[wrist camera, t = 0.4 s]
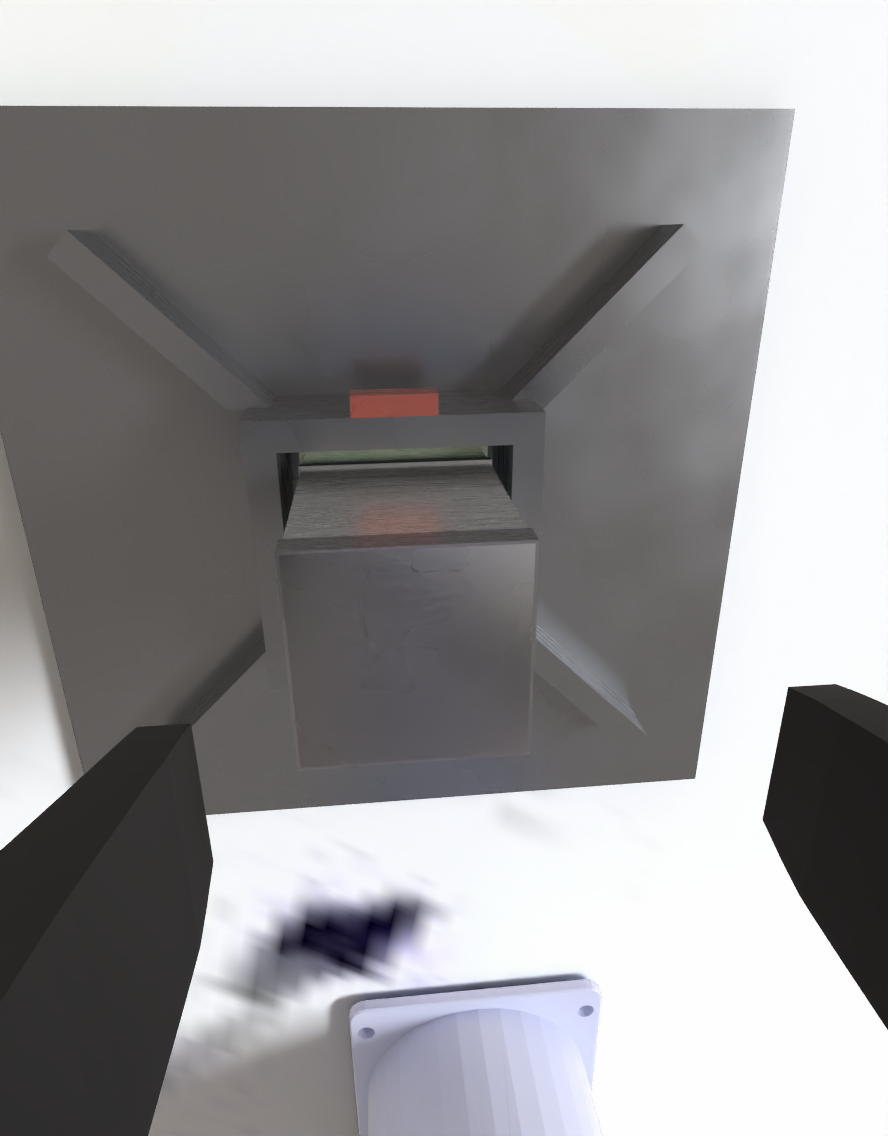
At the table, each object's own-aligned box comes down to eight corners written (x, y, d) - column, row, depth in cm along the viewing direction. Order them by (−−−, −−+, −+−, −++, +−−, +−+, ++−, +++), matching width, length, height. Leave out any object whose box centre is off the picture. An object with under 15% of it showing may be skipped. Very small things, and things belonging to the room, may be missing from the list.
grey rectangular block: (477, 589, 18) (533, 756, 12) (316, 597, 18) (294, 773, 12) (479, 431, 17) (543, 536, 11) (303, 437, 16) (270, 549, 10)
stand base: (686, 764, 22) (733, 841, 19) (102, 807, 20) (62, 896, 18) (779, 113, 15) (870, 86, 13) (-61, 110, 14) (-165, 79, 11)
